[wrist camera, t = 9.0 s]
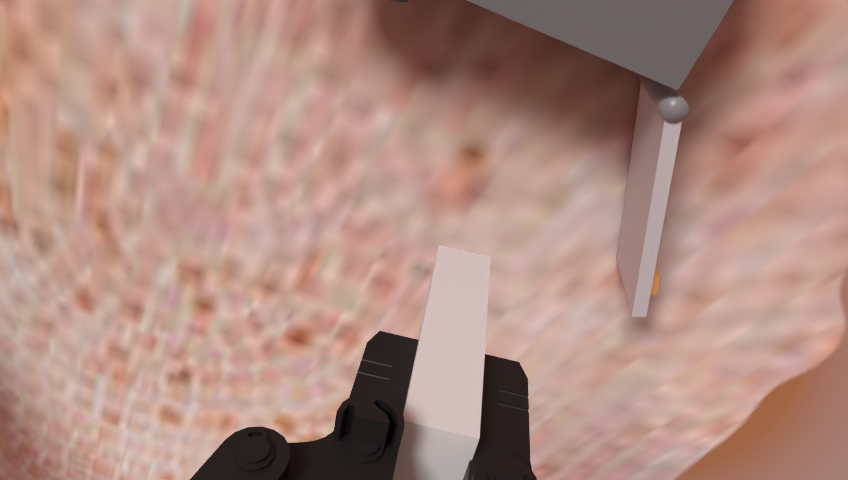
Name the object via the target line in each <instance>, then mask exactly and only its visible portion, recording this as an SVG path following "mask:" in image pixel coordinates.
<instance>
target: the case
mask: <svg viewBox="0 0 848 480" xmlns="http://www.w3.org/2000/svg"><path fill="white" fill-rule="evenodd" d="M391 1H397V2H407V1H409V0H391ZM466 1H469V2H471V3H473V4H476V5H478V6H481V7H483V8H485V9H488V10H490V11H492V12H495V13H497V14H499V15H502V16H504V17H506V18H509V19H511V20H513V21H516V22H518V23H520V24H523V25H525V26H527V27H530V28H532V29H535V30H537V31H539V32H542V33H544V34H546V35H549V36H551V37H553V38H556V39H558V40H560V41H563V42H565V43H567V44H570V45H572V46H574V47H577V48H579V49H581V50H584V51H586V52H589V53H591V54H593V55H596V56H598V57H600V58H603V59H605V60H607V61H610V62H612V63H614V64H617V65H619V66H621V67H624V68H626V69H628V70H631V71H633V72H635V73H638V74H640V75H642V76H645V77H647V78H650V79H652V80H654V81H657V82H659V83H661V84H664V85H666V86H668V87H671V88H673V89H675V90H679V88H680V86H681V85H682V83H683V82H684V80H685V78H686V77H687V75H688V74H689V72H690V70H691V69H692V67H693V65H694V64H695V62H696V61H697V59H698V57H699V56H700V54H701V53H702V51H703V49H704V48H705V46H706V44H707V43H708V41H709V40H710V38H711V36H712V35H713V33H714V32H715V30H716V28H717V27H718V25H719V23H720V22H721V20H722V19H723V17H724V15H725V14H726V12H727V11H728V9H729V7H730V6H731V4H732V3H733V1H734V0H466Z"/></svg>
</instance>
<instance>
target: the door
mask: <svg viewBox="0 0 848 480" xmlns="http://www.w3.org/2000/svg"><path fill="white" fill-rule="evenodd" d="M638 79H639V81H640V82H641V87H640V94H639V101H638V108H637V115H636V122H635V129H634V136H633V143H632V150H631V157H630V164H629V171H628V178H627V185H626V192H625V199H624V206H623V214H622V221H621V228H620V235H619V242H618V249H617V256H616V260H617V263H618V267H619V271H620V274H621V278H622V282H623V286H624V289H625V293H626V297H627V300H628V304H629V308H630V312H631V315H632V317H646V316H647V311H648V305H649V300H650V294H657V292H658V287H659V282H660V276H659V273H658V271H657V268H656V261H657V256H658V250H659V245H660V239H661V234H662V228H663V223H664V218H665V212H666V207H667V201H668V196H669V190H670V185H671V179H672V174H673V168H674V163H675V157H676V152H677V146H678V141H679V135H680V130H681V124H682V120H684V119H685V118H686V117H687V115H688V113H689V105H688V103H687V102H686V101H685V99H684V98H683V97H682V96H681V94H680V93H679V92H678V91H677V90H675V89H673V88H671V87H668V86H666V85H664V84H661V83H659V82H657V81H654V80H652V79H650V78H647V77H645V76H642V75H640V74H638Z"/></svg>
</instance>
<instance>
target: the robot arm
mask: <svg viewBox="0 0 848 480" xmlns="http://www.w3.org/2000/svg"><path fill="white" fill-rule="evenodd" d="M490 262H491V257H488V256H484V255H480V254H475V253H471V252H467V251H462V250H458V249H454V248H449V247H445V246H441V245H439V249H438V253H437V258H436V262H435V266H434V270H433V274H432V279H431V283H430V287H429V291H428V295H427V299H426V304H425V308H424V312H423V316H422V321H421V325H420V330H419V335H418V339H417V340H416V339H412V338H408V337H403V336H399V335H395V334H391V333H386V332H382V331H379V332H378V333H377V334H376V335H375V336H374V337H373V338H372V339H371V340H370V341H368V342H367V345H366V348H365V351H364V354H363V357H362V361H361V363H360V366H359V370H358V373H357V376H356V379H355V382H354V385H353V388H352V391H351V394H350V397H349V399H347V400H345V401H344V402H343V403H342V404H341V406H340V407H339V409H338V411H337V414H336V421H335V427H334V431H333V432H332V433H331V434H329V435H328V436H326V437H324V438H321V439H319V440H316V441H310V442H299V443H287V441H286V440H285V438H284V437H283V436H282V435H280V434H279V433H278V432H276V431H275V430H272V429H269V428H265V427H248V428H245V429H242V430H240V431H237V432H235V433H234V434H232V435H231V436H230V437H228V438H227V439H226V440H225V441H224V442H223V443H222V444H221V445H220V446H219V447H218V449H217V450H216V451H215V452H214V453H213V454H212V455H211V457H210V458H209V459H208V460H207V461H206V462H205V463H204V464H203V466H202V467H201V468H200V469H199V470H198V471H197V472H196V473H195V475H194V476H193V477H192V478H191V479H190V480H537V478H536V476H535V475H534V473H533V472H532V469H531V463H530V438H529V412H528V409H529V405H528V378H527V377H526V375H525V373H524V371H523V369H522V367H521V365H520V363H519V362H516V361H512V360H508V359H503V358H499V357H495V356H490V355H486V354H485V343H486V327H487V311H488V294H489V278H490Z"/></svg>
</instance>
